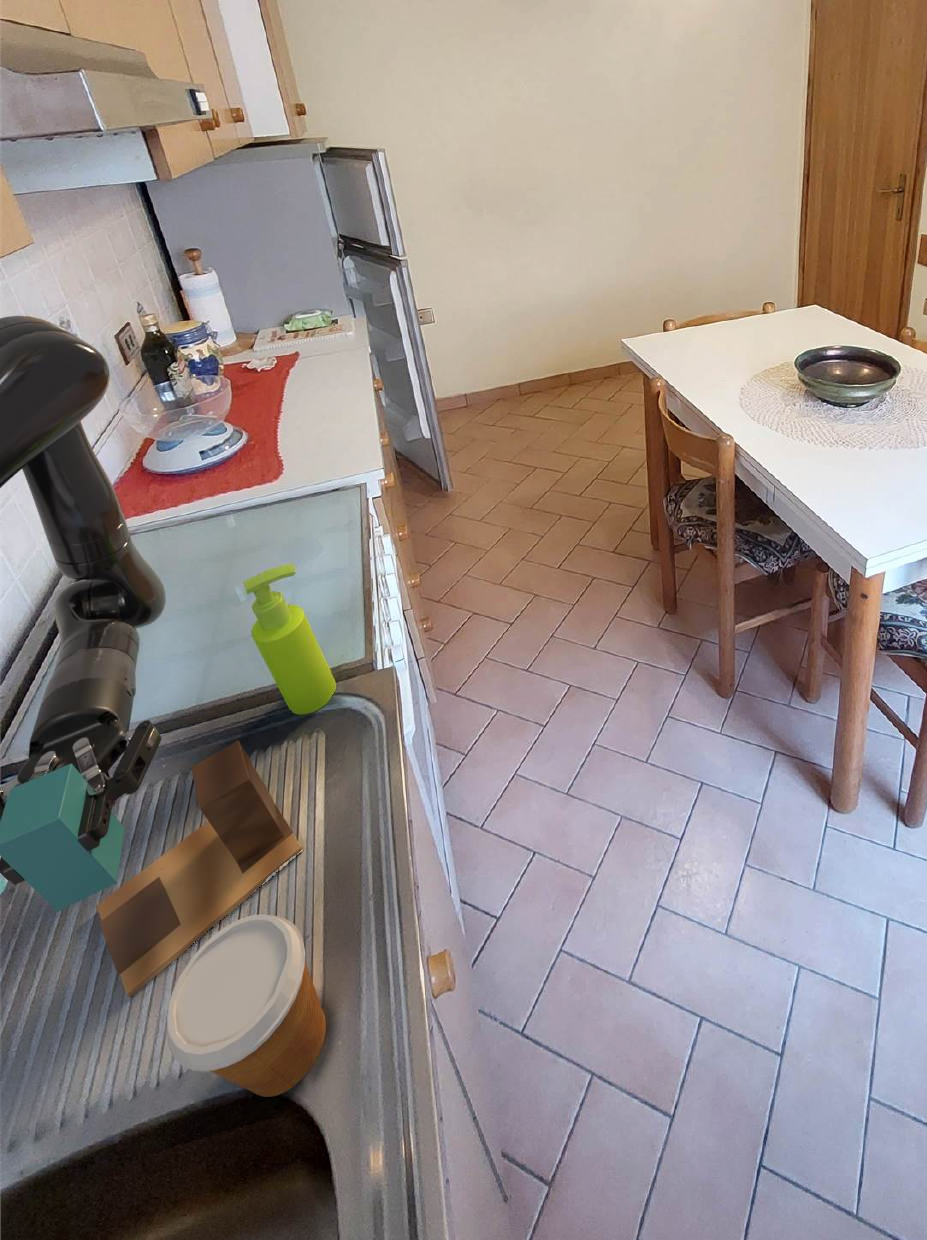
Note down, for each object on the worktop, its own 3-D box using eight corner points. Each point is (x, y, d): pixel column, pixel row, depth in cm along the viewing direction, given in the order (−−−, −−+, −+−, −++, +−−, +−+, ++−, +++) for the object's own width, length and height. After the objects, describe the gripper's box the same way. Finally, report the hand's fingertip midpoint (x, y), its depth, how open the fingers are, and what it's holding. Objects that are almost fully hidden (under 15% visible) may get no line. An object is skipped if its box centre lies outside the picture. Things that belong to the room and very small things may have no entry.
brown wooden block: (239, 865, 69) (199, 808, 65) (229, 824, 73) (191, 767, 68) (284, 836, 72) (249, 778, 67) (272, 797, 76) (238, 740, 71)
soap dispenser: (349, 693, 88) (297, 577, 78) (292, 723, 85) (231, 606, 75) (338, 664, 92) (288, 551, 83) (284, 691, 89) (226, 577, 80)
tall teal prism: (57, 912, 58) (-9, 848, 53) (69, 853, 62) (9, 788, 57) (117, 883, 60) (58, 818, 55) (125, 827, 64) (71, 762, 59)
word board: (128, 998, 61) (124, 994, 60) (98, 910, 68) (93, 905, 67) (304, 850, 71) (302, 845, 71) (262, 785, 78) (260, 781, 77)
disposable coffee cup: (271, 1156, 51) (208, 1096, 45) (199, 1078, 56) (132, 1013, 50) (369, 1013, 58) (325, 945, 53) (298, 954, 63) (250, 885, 57)
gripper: (-20, 714, 65) (-88, 886, 51) (151, 649, 70) (131, 788, 57) (22, 762, 69) (-31, 934, 55) (182, 697, 74) (170, 838, 60)
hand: (52, 859), depth 56 cm, fingers closed on tall teal prism, 4 cm apart
